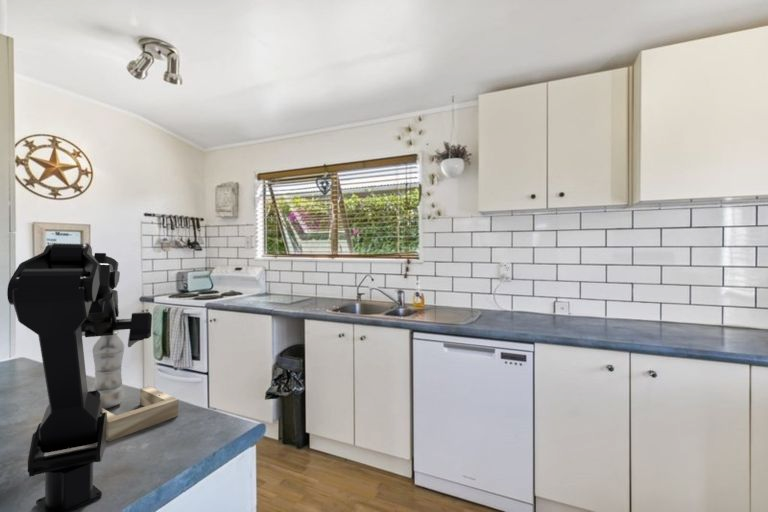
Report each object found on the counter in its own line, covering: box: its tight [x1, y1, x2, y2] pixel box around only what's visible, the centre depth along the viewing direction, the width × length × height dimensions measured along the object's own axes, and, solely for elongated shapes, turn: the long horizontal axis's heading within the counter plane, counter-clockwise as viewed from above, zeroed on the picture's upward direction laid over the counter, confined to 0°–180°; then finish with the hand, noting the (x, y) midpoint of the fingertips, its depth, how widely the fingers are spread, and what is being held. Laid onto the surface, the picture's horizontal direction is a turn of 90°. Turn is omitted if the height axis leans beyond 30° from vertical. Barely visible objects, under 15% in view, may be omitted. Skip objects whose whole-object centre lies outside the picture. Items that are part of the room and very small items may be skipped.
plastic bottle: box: [92, 330, 125, 409], centre depth 90 cm, size 6×7×20 cm
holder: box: [102, 385, 179, 442], centre depth 84 cm, size 14×14×4 cm
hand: (105, 347), depth 86 cm, fingers open, 9 cm apart
